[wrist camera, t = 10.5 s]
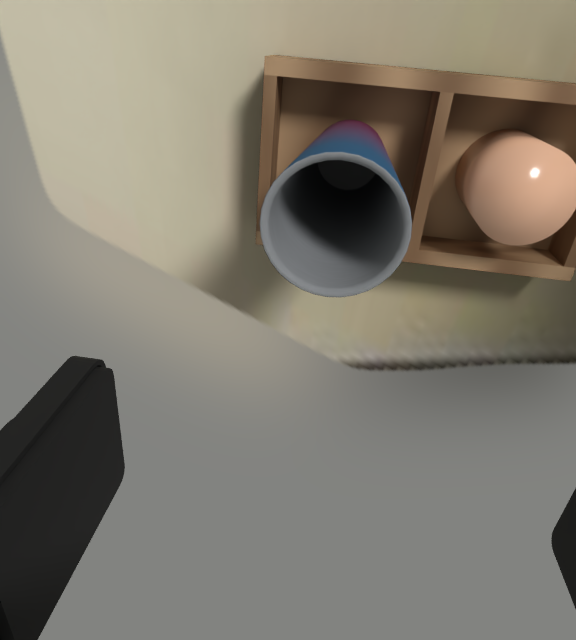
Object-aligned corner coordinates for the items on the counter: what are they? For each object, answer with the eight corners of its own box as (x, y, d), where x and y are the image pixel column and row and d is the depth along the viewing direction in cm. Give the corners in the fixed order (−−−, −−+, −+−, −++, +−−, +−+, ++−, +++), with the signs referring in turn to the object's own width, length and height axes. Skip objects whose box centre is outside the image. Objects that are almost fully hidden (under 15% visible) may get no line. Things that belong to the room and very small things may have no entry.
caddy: (614, 87, 32) (646, 92, 28) (550, 259, 38) (570, 281, 34) (274, 55, 33) (264, 56, 30) (264, 226, 39) (255, 244, 35)
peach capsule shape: (558, 133, 33) (598, 150, 27) (529, 220, 36) (560, 250, 30) (467, 124, 33) (489, 139, 28) (446, 211, 36) (461, 239, 31)
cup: (354, 222, 37) (343, 322, 24) (282, 165, 36) (231, 239, 23) (418, 148, 34) (446, 220, 21) (342, 82, 32) (321, 116, 20)
